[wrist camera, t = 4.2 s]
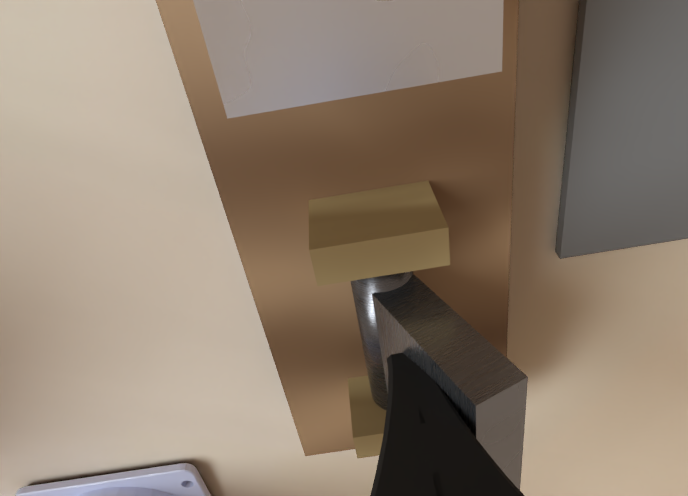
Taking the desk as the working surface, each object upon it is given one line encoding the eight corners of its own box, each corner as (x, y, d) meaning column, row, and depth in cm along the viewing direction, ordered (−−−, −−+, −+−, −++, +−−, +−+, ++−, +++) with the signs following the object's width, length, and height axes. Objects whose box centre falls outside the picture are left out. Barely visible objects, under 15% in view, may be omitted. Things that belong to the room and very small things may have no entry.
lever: (405, 362, 16) (525, 501, 12) (362, 384, 16) (470, 536, 12) (390, 230, 14) (537, 353, 9) (336, 252, 13) (466, 392, 9)
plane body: (493, 380, 21) (537, 491, 17) (298, 409, 21) (296, 525, 17) (508, -521, 8) (680, -876, 5) (36, -420, 9) (-179, -674, 5)
